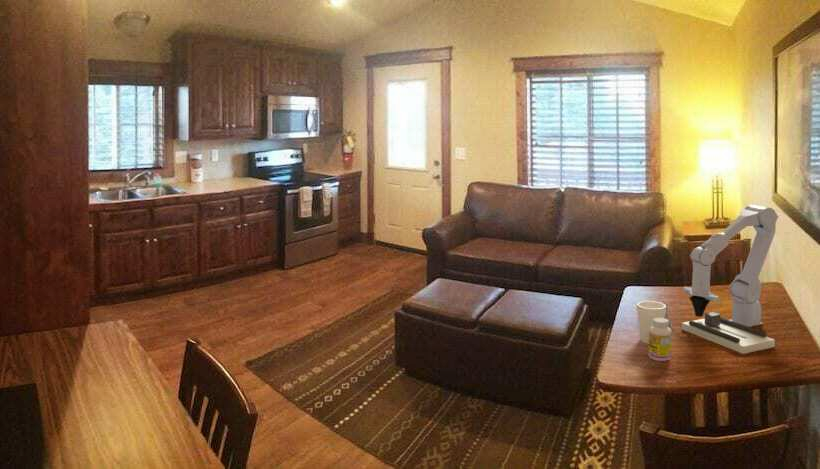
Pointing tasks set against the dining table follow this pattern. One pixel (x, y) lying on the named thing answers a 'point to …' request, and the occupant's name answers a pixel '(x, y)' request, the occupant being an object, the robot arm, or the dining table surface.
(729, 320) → the dark grey guard rails
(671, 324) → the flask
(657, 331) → the supplement bottle
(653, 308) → the foam cup
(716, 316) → the block
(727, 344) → the panel
